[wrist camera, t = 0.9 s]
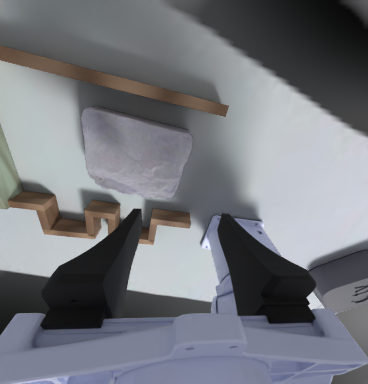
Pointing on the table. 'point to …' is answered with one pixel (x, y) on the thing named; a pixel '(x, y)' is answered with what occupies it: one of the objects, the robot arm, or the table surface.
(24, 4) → the table surface
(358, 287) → the streaming box
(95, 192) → the table surface
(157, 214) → the trap lane
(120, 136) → the stone block
